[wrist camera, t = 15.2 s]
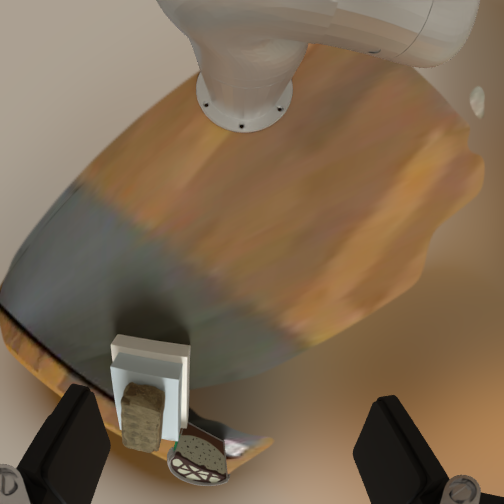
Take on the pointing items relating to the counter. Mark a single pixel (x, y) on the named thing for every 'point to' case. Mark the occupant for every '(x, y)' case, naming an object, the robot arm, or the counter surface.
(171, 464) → the food container
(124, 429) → the stone block
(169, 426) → the tower top slab
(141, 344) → the tower base slab
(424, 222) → the counter surface
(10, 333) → the counter surface
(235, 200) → the counter surface
